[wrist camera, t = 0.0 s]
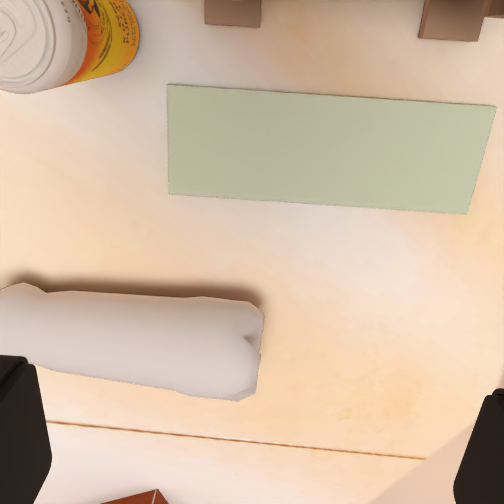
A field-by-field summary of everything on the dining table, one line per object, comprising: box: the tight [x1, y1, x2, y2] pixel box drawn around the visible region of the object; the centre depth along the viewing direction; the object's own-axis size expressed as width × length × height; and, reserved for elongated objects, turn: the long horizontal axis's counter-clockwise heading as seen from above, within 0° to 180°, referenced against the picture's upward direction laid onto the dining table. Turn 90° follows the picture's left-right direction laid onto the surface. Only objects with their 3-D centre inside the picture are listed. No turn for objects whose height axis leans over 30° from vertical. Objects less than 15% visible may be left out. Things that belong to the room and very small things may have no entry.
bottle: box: [0, 282, 264, 402], centre depth 42 cm, size 9×9×30 cm
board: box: [167, 84, 497, 214], centre depth 38 cm, size 9×26×1 cm, turn 87°
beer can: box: [0, 0, 139, 94], centre depth 28 cm, size 6×6×15 cm
